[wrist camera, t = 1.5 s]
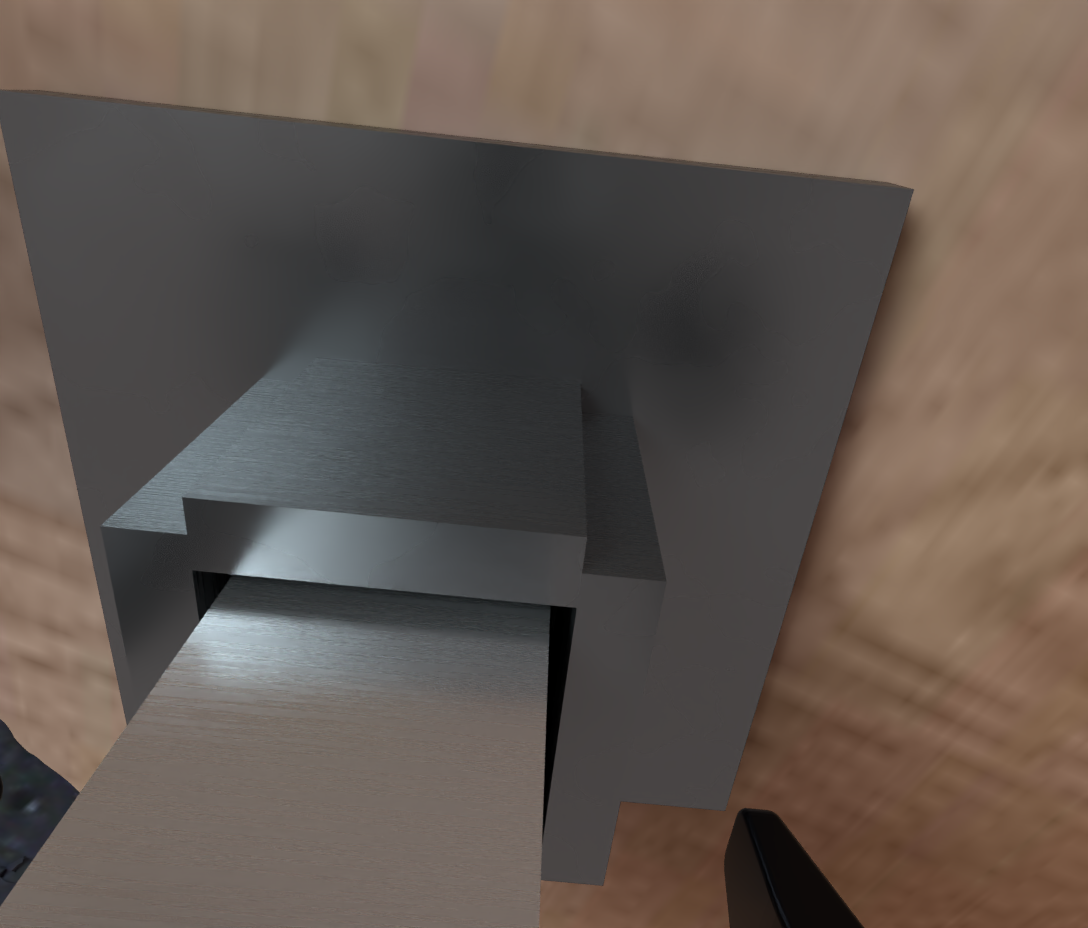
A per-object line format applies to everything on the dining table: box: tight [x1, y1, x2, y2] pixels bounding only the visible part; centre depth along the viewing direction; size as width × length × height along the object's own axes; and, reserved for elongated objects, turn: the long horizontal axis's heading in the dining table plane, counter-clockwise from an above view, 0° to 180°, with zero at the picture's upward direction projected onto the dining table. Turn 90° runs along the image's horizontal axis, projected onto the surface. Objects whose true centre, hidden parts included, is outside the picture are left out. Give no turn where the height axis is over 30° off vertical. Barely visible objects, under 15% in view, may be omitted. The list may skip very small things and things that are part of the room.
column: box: [0, 574, 550, 928], centre depth 10 cm, size 4×4×10 cm
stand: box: [0, 90, 914, 886], centre depth 13 cm, size 14×14×6 cm
